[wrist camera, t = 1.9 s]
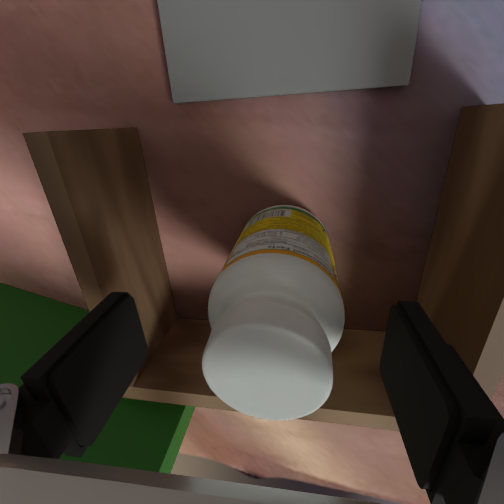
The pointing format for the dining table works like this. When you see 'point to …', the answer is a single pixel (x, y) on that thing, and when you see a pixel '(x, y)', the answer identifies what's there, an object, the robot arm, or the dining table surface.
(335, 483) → the dining table surface
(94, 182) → the wooden u-shaped frame
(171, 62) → the grey mat
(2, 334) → the hardback book
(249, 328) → the supplement bottle
